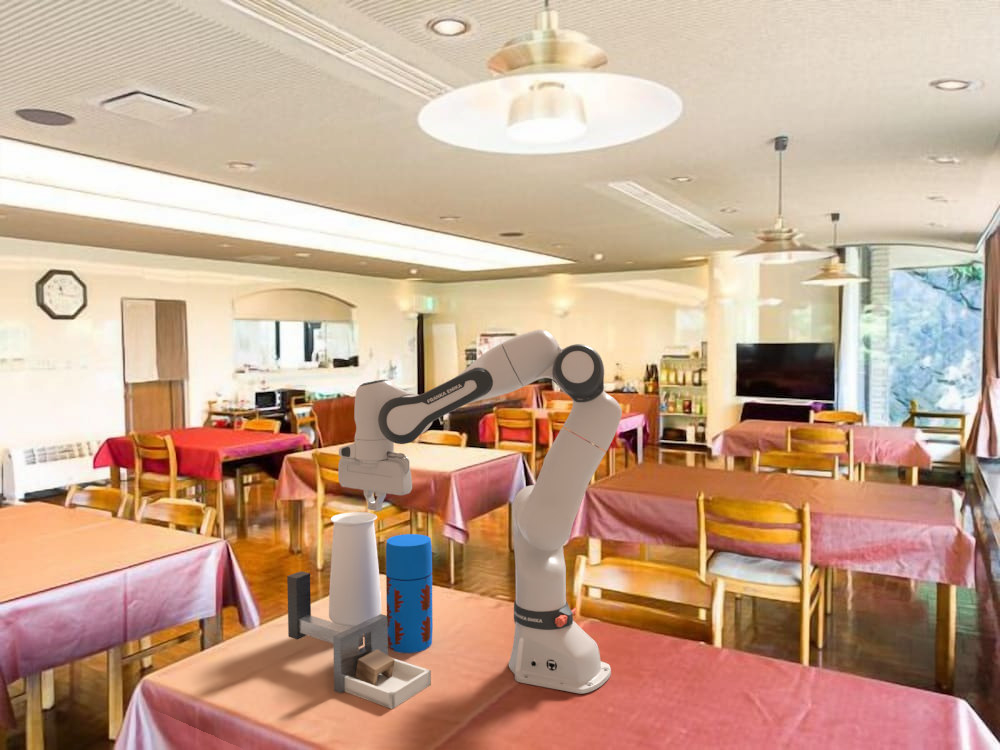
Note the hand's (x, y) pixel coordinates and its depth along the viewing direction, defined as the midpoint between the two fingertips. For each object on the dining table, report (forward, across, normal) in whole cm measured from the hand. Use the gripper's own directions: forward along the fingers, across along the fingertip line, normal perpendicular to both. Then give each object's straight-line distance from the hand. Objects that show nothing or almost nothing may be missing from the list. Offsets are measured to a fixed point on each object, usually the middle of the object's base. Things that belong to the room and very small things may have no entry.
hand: (375, 509), depth 163 cm
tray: (+33, -14, +12) cm, 38 cm away
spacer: (+32, -10, +12) cm, 36 cm away
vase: (+33, +14, -7) cm, 37 cm away
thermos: (+33, -4, -7) cm, 34 cm away
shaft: (+28, +4, +12) cm, 31 cm away
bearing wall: (+33, -7, +12) cm, 36 cm away
